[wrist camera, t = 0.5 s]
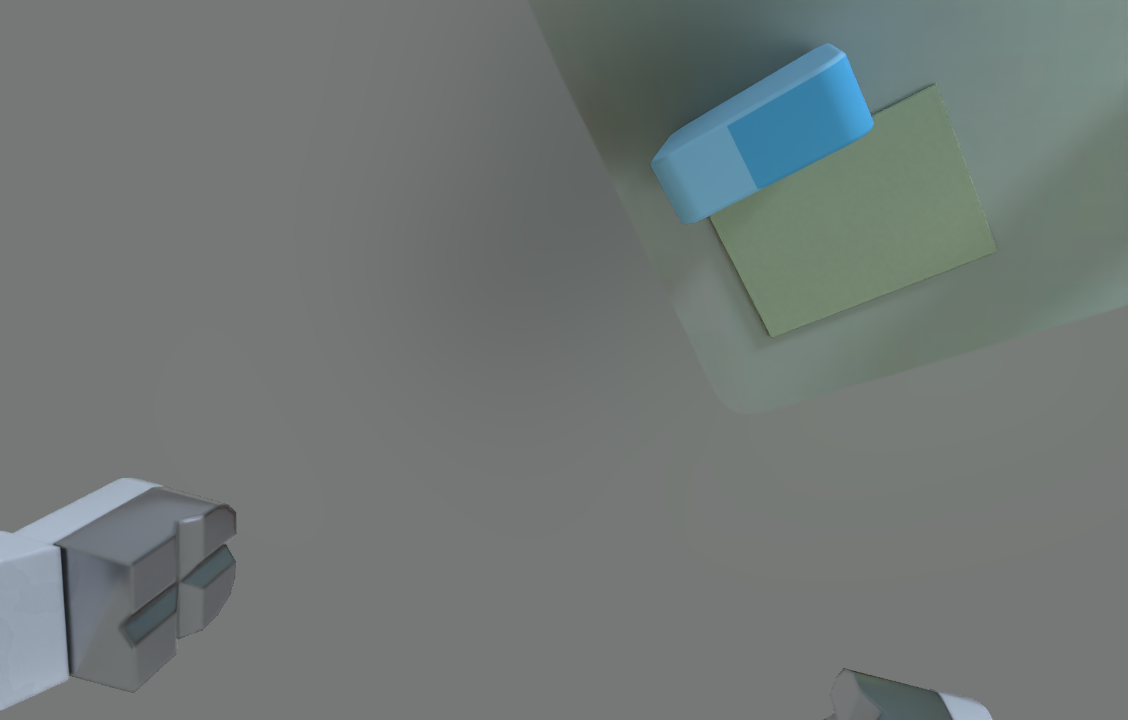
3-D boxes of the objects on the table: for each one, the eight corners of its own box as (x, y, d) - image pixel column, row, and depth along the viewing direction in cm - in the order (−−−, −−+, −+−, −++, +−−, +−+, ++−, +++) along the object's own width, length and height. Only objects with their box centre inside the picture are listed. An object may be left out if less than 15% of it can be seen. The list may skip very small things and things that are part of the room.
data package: (697, 185, 50) (679, 231, 39) (670, 133, 48) (644, 167, 38) (853, 101, 44) (879, 130, 34) (827, 40, 43) (846, 51, 33)
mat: (935, 83, 42) (936, 83, 42) (996, 250, 46) (998, 251, 46) (702, 202, 50) (702, 203, 50) (771, 336, 54) (771, 338, 54)
